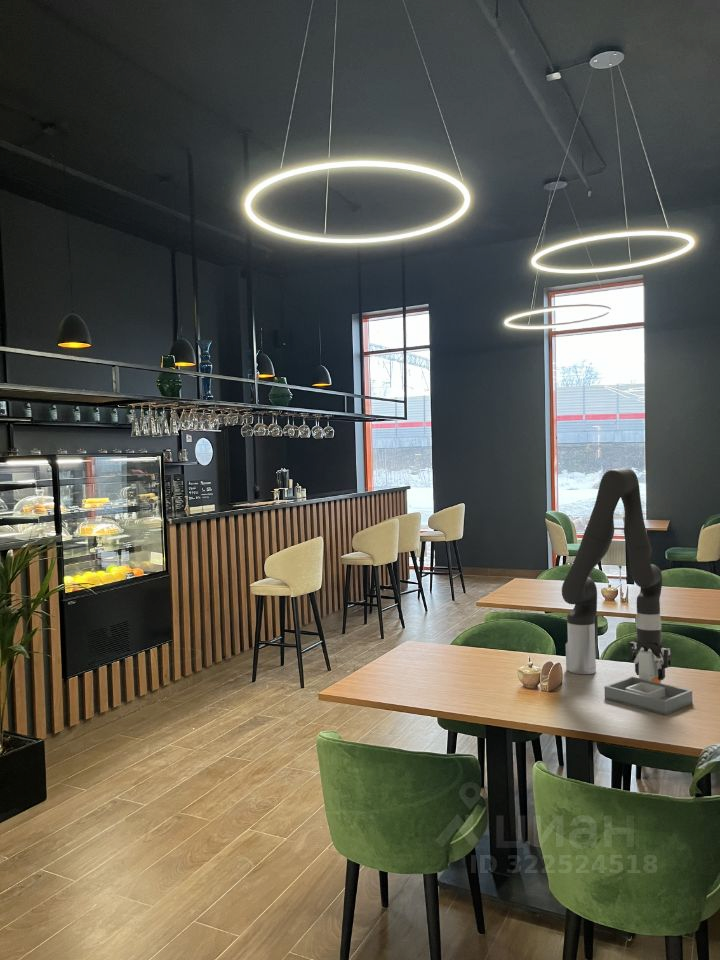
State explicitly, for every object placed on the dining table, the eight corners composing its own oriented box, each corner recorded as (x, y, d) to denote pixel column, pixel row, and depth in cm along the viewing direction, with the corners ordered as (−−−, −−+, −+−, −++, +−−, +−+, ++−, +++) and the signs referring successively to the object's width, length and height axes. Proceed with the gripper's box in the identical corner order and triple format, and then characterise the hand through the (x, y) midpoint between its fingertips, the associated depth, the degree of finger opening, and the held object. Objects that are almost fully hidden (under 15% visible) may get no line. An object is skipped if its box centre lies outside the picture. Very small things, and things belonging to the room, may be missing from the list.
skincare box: (650, 691, 229) (649, 653, 229) (638, 687, 232) (637, 651, 232) (661, 687, 232) (661, 650, 232) (650, 684, 236) (649, 648, 236)
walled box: (604, 699, 222) (604, 686, 222) (632, 689, 231) (632, 676, 231) (665, 715, 206) (665, 701, 206) (692, 703, 215) (692, 690, 215)
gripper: (622, 625, 235) (623, 675, 236) (663, 632, 224) (664, 684, 224) (635, 621, 240) (636, 670, 240) (676, 628, 228) (677, 679, 229)
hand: (650, 677), depth 232 cm, fingers open, 7 cm apart
